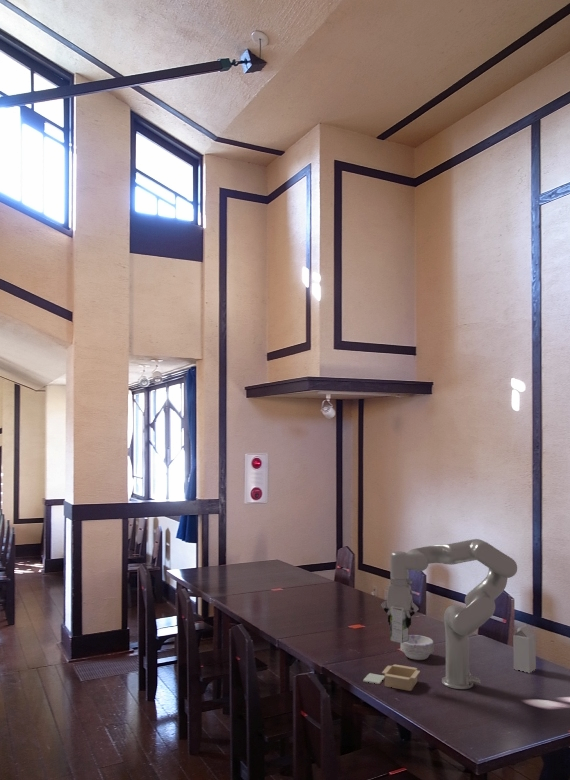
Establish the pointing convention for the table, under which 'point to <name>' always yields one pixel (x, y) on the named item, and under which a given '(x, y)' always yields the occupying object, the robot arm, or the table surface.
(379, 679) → the plate
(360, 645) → the table surface
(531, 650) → the milk carton
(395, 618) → the syrup box
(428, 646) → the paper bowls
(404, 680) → the carton
